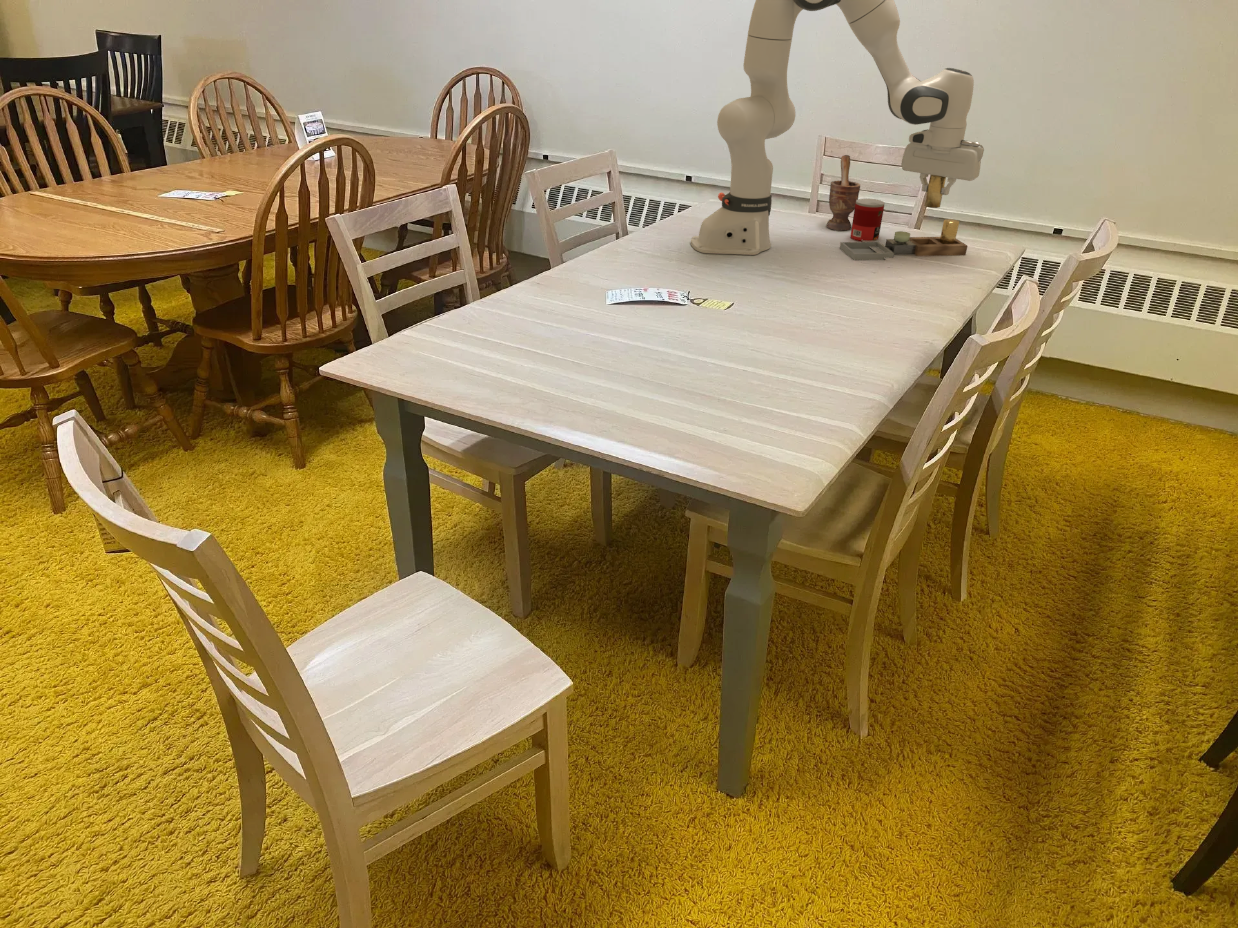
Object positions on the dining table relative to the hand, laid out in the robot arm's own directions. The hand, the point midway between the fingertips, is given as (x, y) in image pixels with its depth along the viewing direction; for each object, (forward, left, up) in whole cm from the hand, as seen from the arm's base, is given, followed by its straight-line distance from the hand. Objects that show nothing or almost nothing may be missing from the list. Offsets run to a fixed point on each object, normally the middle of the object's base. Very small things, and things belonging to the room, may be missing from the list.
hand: (934, 193), depth 222 cm
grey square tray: (-16, 0, -17) cm, 23 cm away
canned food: (-11, +15, -17) cm, 25 cm away
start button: (-7, 0, -15) cm, 17 cm away
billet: (0, 0, -4) cm, 4 cm away
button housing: (-7, 0, -17) cm, 18 cm away
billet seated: (+7, 0, -16) cm, 17 cm away
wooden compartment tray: (+3, 0, -17) cm, 17 cm away
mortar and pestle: (-14, +30, -17) cm, 37 cm away
